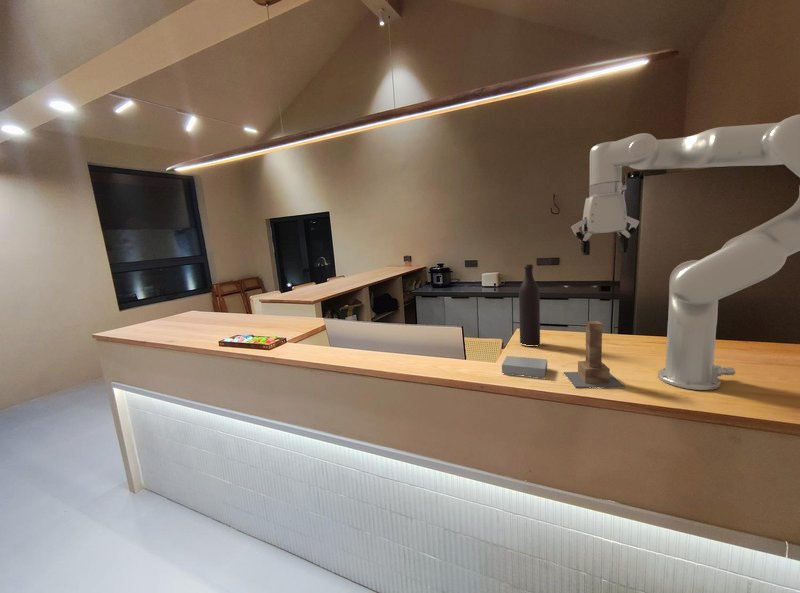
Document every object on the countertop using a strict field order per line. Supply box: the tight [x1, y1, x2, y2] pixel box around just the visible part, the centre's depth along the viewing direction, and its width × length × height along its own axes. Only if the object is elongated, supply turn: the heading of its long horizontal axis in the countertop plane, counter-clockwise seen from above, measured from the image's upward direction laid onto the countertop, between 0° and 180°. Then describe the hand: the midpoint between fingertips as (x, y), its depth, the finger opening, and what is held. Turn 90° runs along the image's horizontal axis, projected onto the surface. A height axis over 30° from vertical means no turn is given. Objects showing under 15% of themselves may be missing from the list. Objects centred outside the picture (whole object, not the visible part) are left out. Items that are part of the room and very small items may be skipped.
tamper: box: [577, 320, 611, 383], centre depth 94 cm, size 6×6×16 cm
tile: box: [501, 355, 548, 379], centre depth 105 cm, size 3×8×12 cm
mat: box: [563, 371, 626, 389], centre depth 95 cm, size 12×10×1 cm
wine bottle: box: [518, 263, 541, 346], centre depth 126 cm, size 7×7×30 cm
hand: (604, 253), depth 97 cm, fingers open, 9 cm apart
